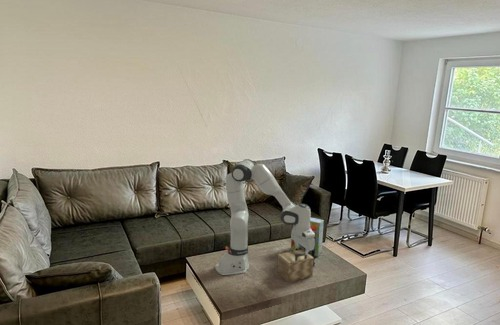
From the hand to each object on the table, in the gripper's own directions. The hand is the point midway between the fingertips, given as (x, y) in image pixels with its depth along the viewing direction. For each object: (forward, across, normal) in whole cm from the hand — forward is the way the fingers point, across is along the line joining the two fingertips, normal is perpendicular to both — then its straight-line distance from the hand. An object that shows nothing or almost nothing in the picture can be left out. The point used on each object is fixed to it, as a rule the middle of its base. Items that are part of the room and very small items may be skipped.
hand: (301, 251), depth 216 cm
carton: (+18, -6, 0) cm, 19 cm away
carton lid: (+6, -6, 0) cm, 8 cm away
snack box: (+18, -30, +26) cm, 44 cm away
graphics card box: (+18, -18, +16) cm, 30 cm away
